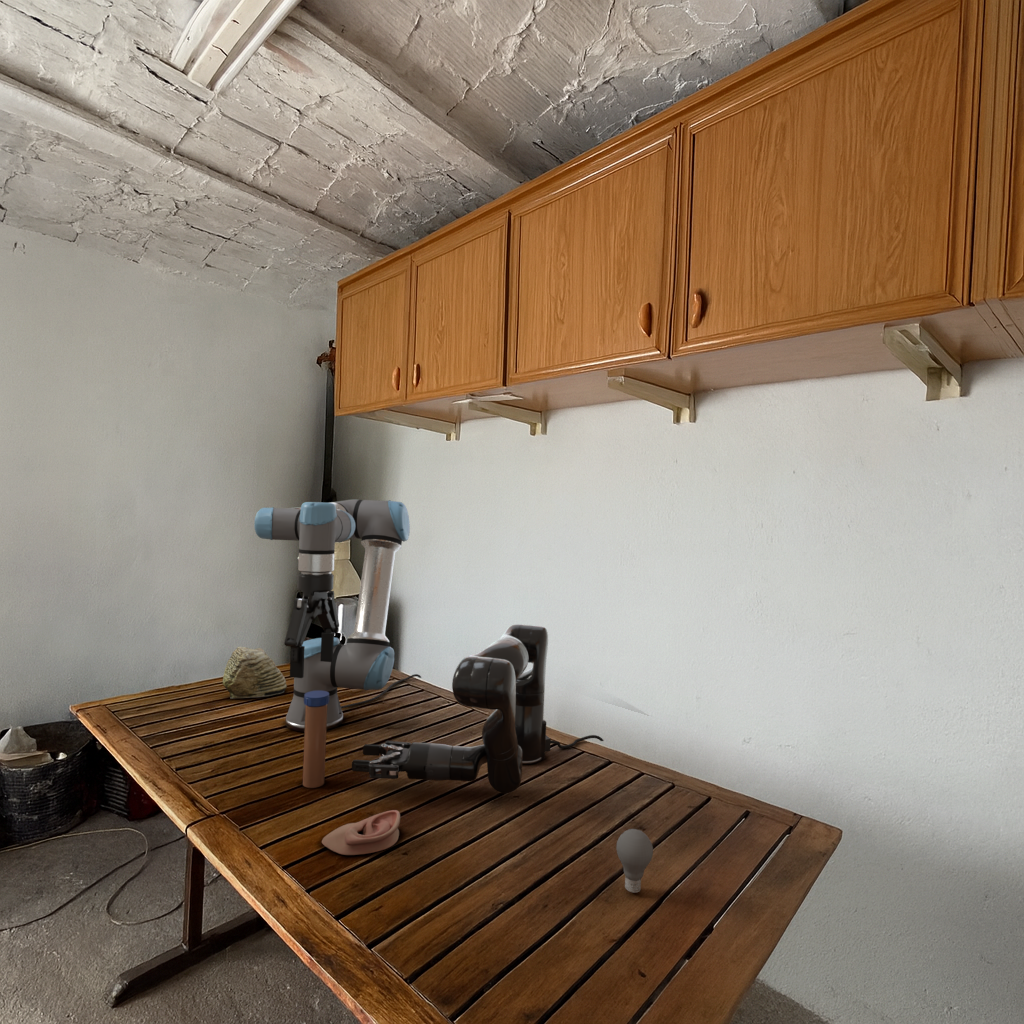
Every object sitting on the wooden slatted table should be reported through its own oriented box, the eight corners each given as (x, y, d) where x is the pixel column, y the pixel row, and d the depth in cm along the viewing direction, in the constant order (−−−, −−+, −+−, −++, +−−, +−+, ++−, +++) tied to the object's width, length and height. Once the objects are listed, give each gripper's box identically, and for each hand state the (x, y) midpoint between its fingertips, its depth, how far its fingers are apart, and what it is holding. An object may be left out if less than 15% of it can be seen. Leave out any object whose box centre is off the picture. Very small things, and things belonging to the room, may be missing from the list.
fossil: (218, 695, 195) (220, 647, 195) (278, 685, 208) (279, 640, 207) (228, 703, 189) (230, 653, 188) (289, 692, 201) (290, 645, 201)
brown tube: (298, 783, 140) (301, 695, 139) (317, 776, 143) (320, 691, 143) (309, 790, 137) (313, 700, 136) (328, 783, 140) (331, 696, 140)
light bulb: (610, 879, 108) (613, 822, 108) (644, 879, 109) (647, 822, 109) (619, 902, 102) (622, 840, 102) (655, 901, 103) (658, 840, 103)
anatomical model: (313, 828, 113) (343, 799, 125) (313, 850, 113) (342, 819, 125) (383, 839, 111) (407, 808, 122) (382, 862, 111) (406, 829, 122)
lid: (299, 702, 139) (299, 693, 139) (320, 697, 143) (321, 688, 143) (312, 708, 136) (312, 699, 136) (333, 703, 140) (334, 694, 140)
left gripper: (326, 566, 152) (323, 654, 152) (268, 577, 127) (265, 683, 127) (355, 567, 150) (352, 656, 151) (303, 580, 126) (299, 686, 126)
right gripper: (437, 732, 146) (367, 728, 146) (426, 757, 131) (348, 753, 132) (435, 765, 146) (365, 760, 146) (424, 793, 131) (347, 788, 132)
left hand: (312, 669), depth 139 cm, fingers open, 13 cm apart
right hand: (357, 757), depth 139 cm, fingers open, 8 cm apart
